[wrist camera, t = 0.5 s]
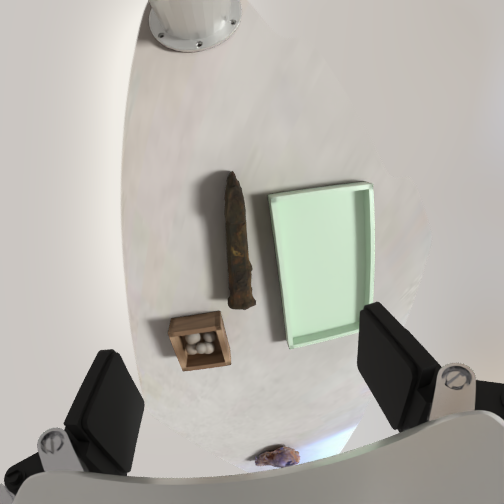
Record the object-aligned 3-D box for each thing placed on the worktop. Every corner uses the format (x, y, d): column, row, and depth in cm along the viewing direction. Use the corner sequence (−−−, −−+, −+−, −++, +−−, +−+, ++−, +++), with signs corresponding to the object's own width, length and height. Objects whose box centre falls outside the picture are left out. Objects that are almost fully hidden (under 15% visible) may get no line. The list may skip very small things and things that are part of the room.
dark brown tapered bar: (253, 297, 44) (257, 313, 40) (227, 298, 44) (228, 314, 40) (252, 170, 38) (257, 173, 33) (222, 171, 37) (222, 174, 33)
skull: (258, 461, 63) (260, 479, 57) (248, 450, 60) (250, 470, 55) (300, 449, 63) (304, 467, 57) (293, 438, 60) (298, 457, 54)
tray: (267, 194, 39) (270, 198, 36) (364, 181, 39) (372, 183, 37) (286, 340, 48) (289, 349, 45) (365, 320, 48) (370, 328, 46)
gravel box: (171, 318, 44) (167, 334, 40) (220, 310, 44) (220, 326, 40) (184, 355, 47) (182, 372, 43) (230, 349, 47) (231, 366, 43)
